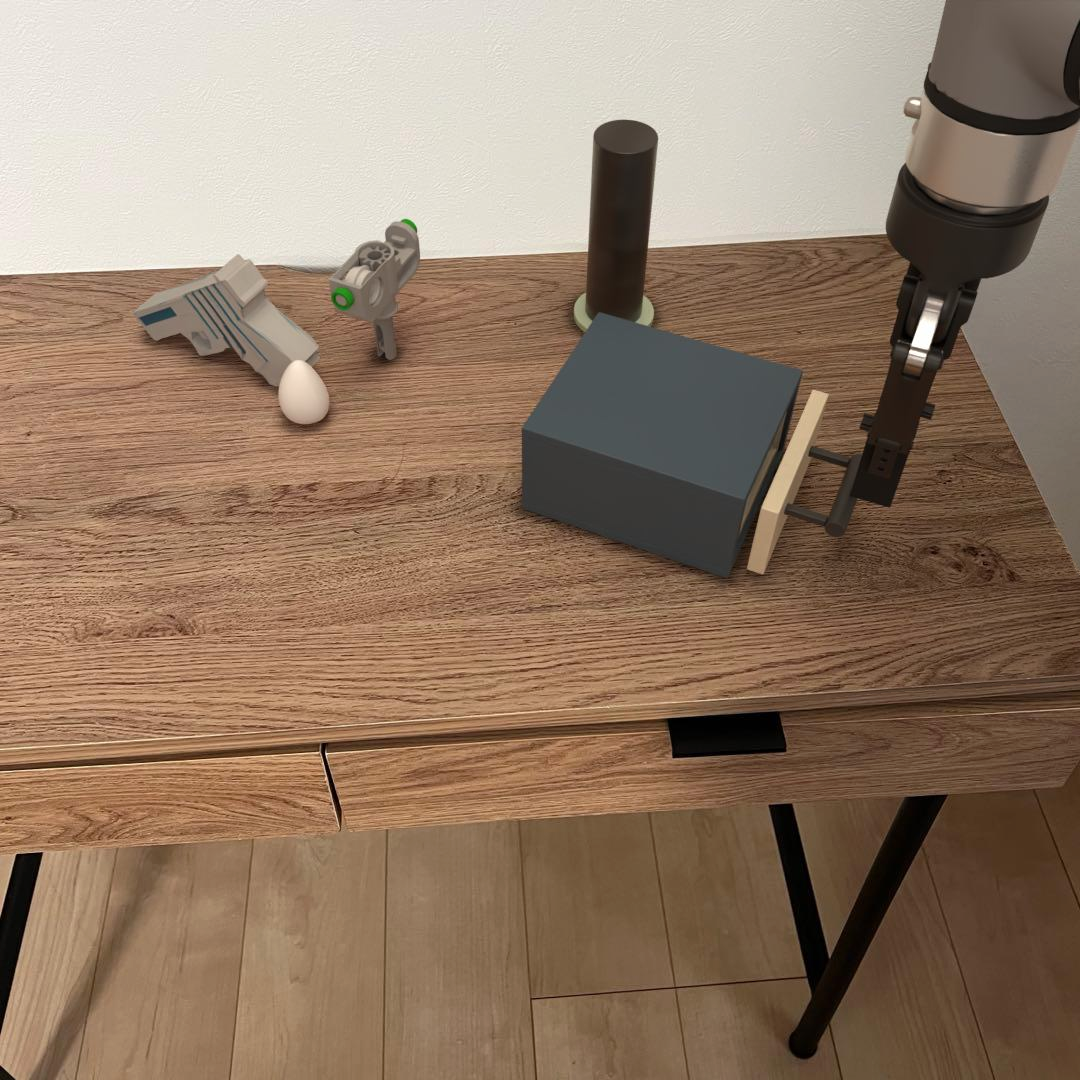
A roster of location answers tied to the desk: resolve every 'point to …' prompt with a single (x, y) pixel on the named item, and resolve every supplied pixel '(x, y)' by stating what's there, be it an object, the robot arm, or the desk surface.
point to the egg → (303, 394)
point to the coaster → (585, 321)
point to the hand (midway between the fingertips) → (872, 494)
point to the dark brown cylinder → (620, 217)
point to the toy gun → (230, 319)
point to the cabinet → (657, 441)
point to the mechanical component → (378, 281)
